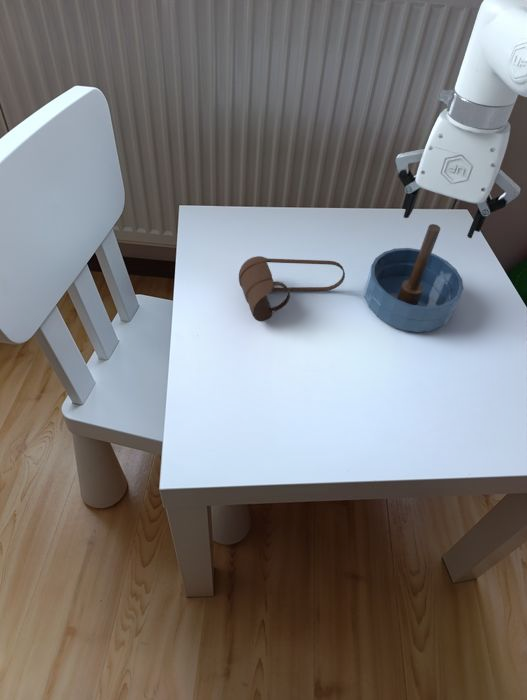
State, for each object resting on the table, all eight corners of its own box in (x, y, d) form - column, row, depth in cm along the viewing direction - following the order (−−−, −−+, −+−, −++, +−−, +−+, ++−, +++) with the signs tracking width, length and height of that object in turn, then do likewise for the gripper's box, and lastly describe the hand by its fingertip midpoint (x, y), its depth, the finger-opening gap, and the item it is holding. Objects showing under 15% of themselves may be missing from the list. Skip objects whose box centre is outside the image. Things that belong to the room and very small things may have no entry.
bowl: (459, 292, 96) (471, 266, 92) (439, 347, 87) (451, 321, 82) (379, 264, 100) (387, 237, 95) (351, 314, 91) (358, 287, 86)
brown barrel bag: (249, 328, 87) (251, 297, 82) (234, 281, 94) (235, 249, 89) (352, 314, 91) (361, 283, 85) (330, 269, 98) (336, 239, 93)
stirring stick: (420, 296, 93) (448, 225, 82) (415, 309, 91) (443, 237, 80) (401, 289, 94) (426, 217, 83) (395, 301, 92) (420, 229, 81)
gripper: (405, 102, 68) (376, 218, 80) (546, 138, 63) (492, 255, 76) (420, 82, 72) (391, 195, 85) (553, 114, 68) (501, 228, 80)
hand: (439, 223), depth 80 cm, fingers open, 9 cm apart
